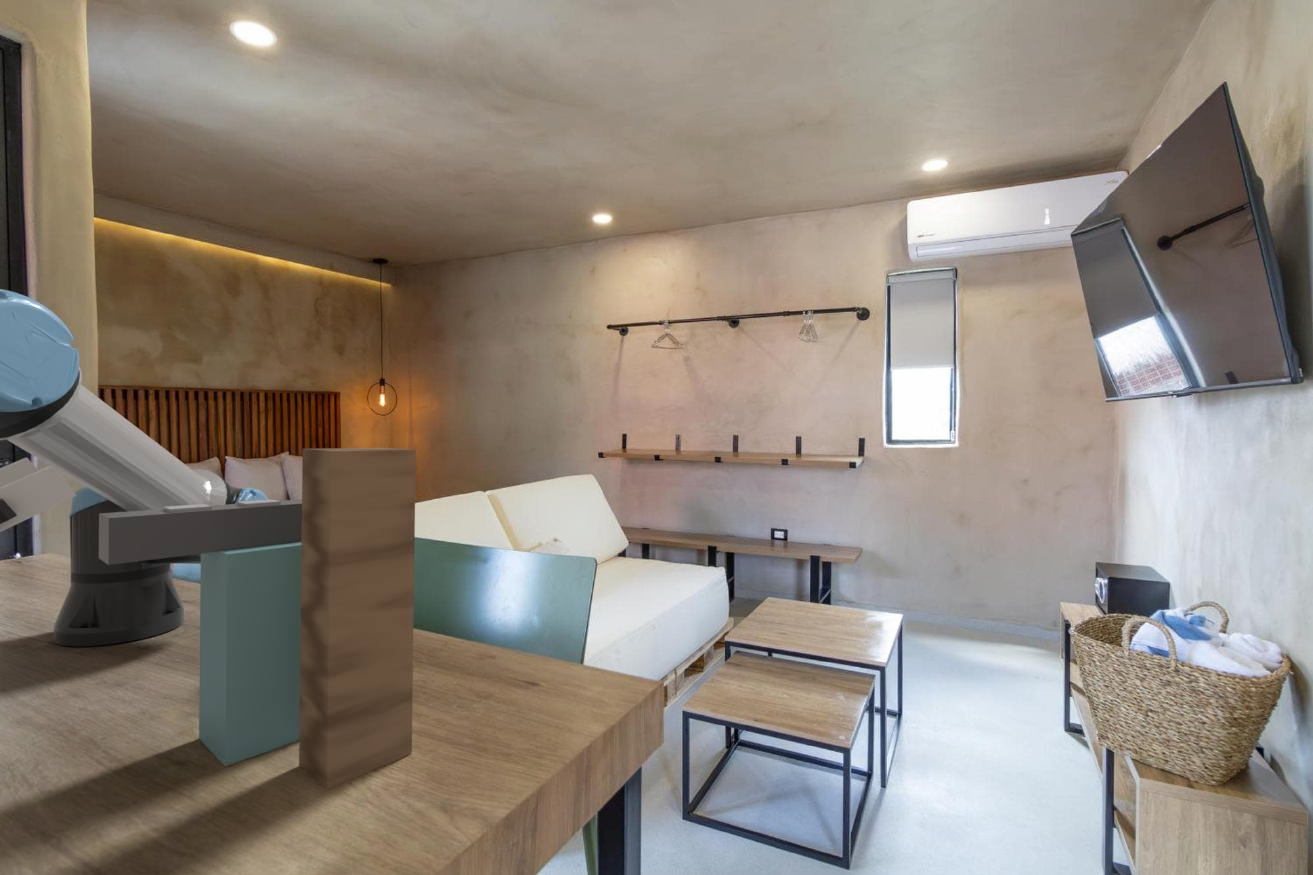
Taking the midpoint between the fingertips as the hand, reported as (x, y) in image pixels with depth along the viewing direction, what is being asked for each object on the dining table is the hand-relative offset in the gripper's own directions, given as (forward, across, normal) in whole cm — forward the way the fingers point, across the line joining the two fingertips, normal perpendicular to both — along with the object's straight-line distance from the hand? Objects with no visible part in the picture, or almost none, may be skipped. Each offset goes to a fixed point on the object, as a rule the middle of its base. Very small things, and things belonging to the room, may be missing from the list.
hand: (50, 474), depth 51 cm
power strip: (+8, 0, -14) cm, 16 cm away
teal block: (0, +1, -32) cm, 32 cm away
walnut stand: (+3, +13, -34) cm, 36 cm away
